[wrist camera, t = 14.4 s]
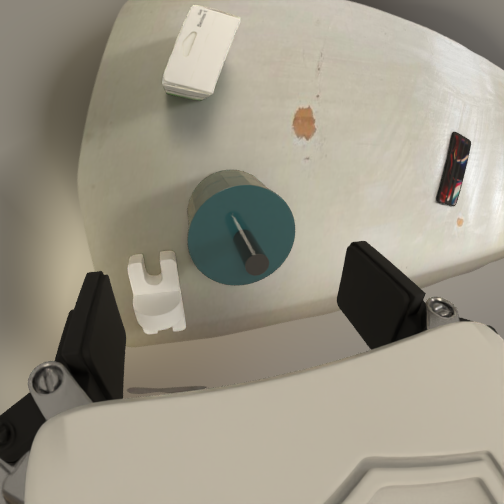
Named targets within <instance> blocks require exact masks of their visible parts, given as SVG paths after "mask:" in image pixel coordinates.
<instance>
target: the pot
mask: <svg viewBox="0 0 504 504" xmlns="http://www.w3.org/2000/svg"><path fill="white" fill-rule="evenodd" d="M238 184H254V185H259V186H263V187H265V188H267V187H266V186H265V185H264V184H262V183H261V182H260V181H259V180H258V179H257V178H256V177H254V176H253V175H252V174H249V173H246V172H244V171H239V170H224V171H219V172H216V173H214V174H212V175H210V176H208V177H207V178H205V179H204V180H203V181H201V182H200V183H199V184H198V186H197V187H196V188H195V190H194V191H193V193H192V195H191V197H190V200H189V204H188V208H187V213H188V222H189V225H190V222H191V219H192V217H193V215H194V213H195V212H196V210H197V209H198V207H199V206H200V205H201V204H202V203H203V202H204V201H205V200H206V199H207V198H208V197H209V196H211V195H212V194H214V193H215V192H217V191H219V190H221V189H223V188H226V187H229V186H232V185H238Z"/></svg>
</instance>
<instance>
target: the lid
mask: <svg viewBox="0 0 504 504" xmlns="http://www.w3.org/2000/svg"><path fill="white" fill-rule="evenodd" d="M294 238H295V223H294V218H293V215H292V212H291V210H290V208H289V207H288V205H287V204H286V202H285V201H284V200H283V199H282V198H281V197H280V196H279V195H277V194H276V193H275V192H273V191H272V190H270V189H268V188H265V187H263V186H259V185H254V184H238V185H232V186H229V187H226V188H223V189H221V190H219V191H217V192H215V193H214V194H212V195H211V196H209V197H208V198H207V199H206V200H205V201H204V202H203V203H202V204H201V205H200V206H199V207H198V209H197V210H196V212H195V213H194V215H193V217H192V219H191V222H190V225H189V229H188V237H187V240H188V249H189V253H190V256H191V258H192V260H193V262H194V264H195V265H196V267H197V268H198V269H199V270H200V271H201V272H202V273H203V274H204V275H205V276H207V277H208V278H210V279H212V280H214V281H216V282H219V283H222V284H226V285H246V284H250V283H254V282H257V281H259V280H261V279H264V278H265V277H267V276H269V275H270V274H272V273H273V272H274V271H275V270H277V269H278V268H279V267H280V266H281V265H282V263H283V262H284V261H285V259H286V258H287V257H288V255H289V253H290V251H291V248H292V246H293V242H294Z"/></svg>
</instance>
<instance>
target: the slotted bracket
mask: <svg viewBox="0 0 504 504" xmlns="http://www.w3.org/2000/svg"><path fill="white" fill-rule="evenodd" d="M160 265H161V271H162V272H161V273H160V274H159V275H157V276H152V275H149V274H148V273H147V272H146V269H145V264H144V259H143V254H136V255H132V256H131V257H130V258H129V263H128V268H127V270H128V274H129V279H130V283H131V287H132V291H133V295H134V297H133V308H134V311H135V315H136V318H137V321H138V323H139V325H141V326H142V327H143V331H144V332H145V333H146V334H156V333H158V330H164V329H168V328H170V327H173V331H182V330H184V329H185V328H186V322H185V314H184V308H183V302H182V296H181V289H180V282H179V276H178V269H177V261H176V255H175V253H174V252H173V251H161V252H160Z"/></svg>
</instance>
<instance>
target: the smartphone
mask: <svg viewBox="0 0 504 504" xmlns="http://www.w3.org/2000/svg"><path fill="white" fill-rule="evenodd" d="M470 147H471V141H470V140H469V139H467V138H465V137H464V136H462V135H460V134H459V133H457V132H453V133H452V138H451V143H450V147H449V152H448V157H447V161H446V165H445V170H444V174H443V178H442V181H441V185H440V189H439V193H438V196H437V201H438V202H439V203H442V204H446V205H450V206H455V205H456V203H457V200H458V196H459V193H460V189H461V186H462V182H463V178H464V174H465V170H466V166H467V161H468V157H469V152H470Z"/></svg>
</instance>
